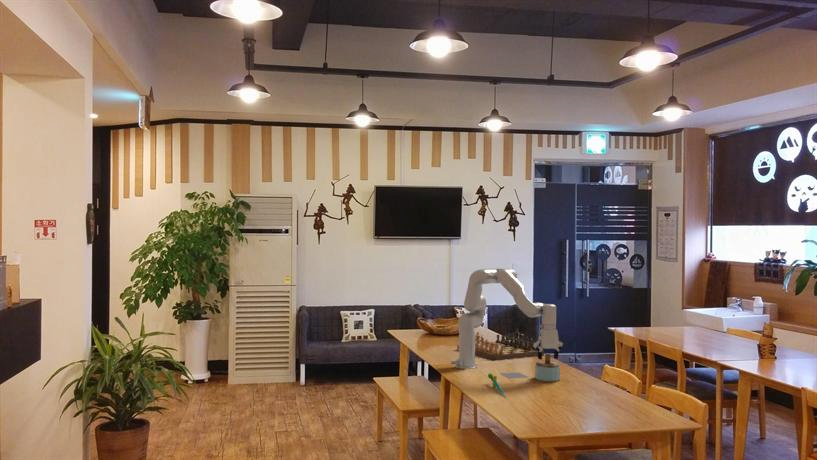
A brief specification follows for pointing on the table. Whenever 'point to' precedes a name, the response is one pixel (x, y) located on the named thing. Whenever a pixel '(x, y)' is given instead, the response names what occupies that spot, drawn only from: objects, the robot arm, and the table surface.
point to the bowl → (547, 373)
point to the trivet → (513, 375)
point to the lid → (547, 362)
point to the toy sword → (495, 382)
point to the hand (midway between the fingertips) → (547, 358)
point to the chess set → (505, 347)
